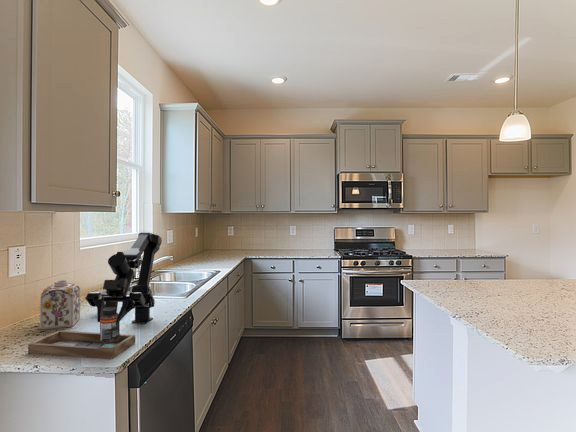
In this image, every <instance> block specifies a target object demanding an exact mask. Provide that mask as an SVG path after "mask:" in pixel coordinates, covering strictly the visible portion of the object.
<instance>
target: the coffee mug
mask: <svg viewBox="0 0 576 432" xmlns="http://www.w3.org/2000/svg"><path fill="white" fill-rule="evenodd" d="M106 291H107V290H101V291H99V292H100V293H101V295H103V296H108V295H109V294H107V293H106ZM105 305H106V307H116V312H117V313H118V305H119V302H106V303H105Z"/></svg>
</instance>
